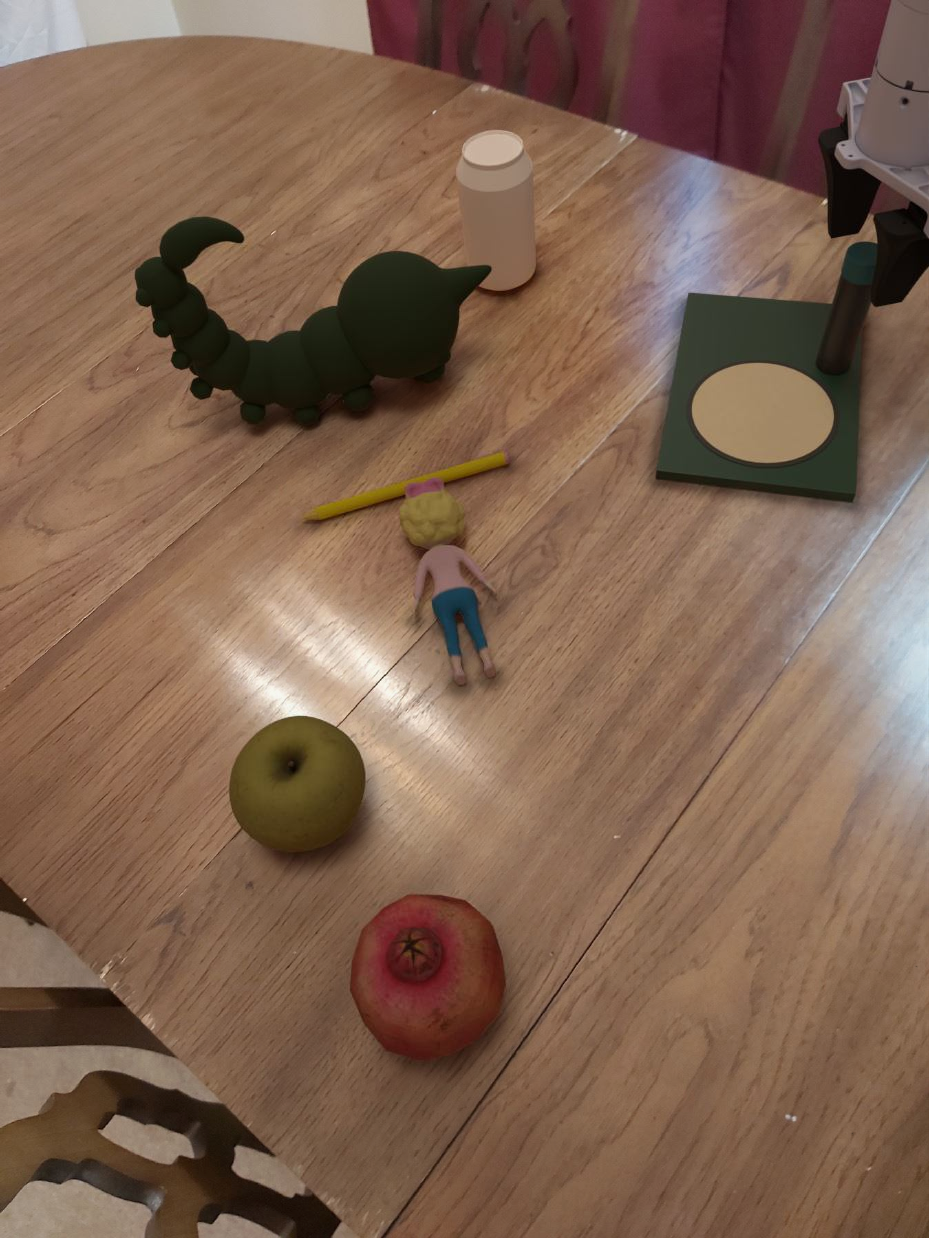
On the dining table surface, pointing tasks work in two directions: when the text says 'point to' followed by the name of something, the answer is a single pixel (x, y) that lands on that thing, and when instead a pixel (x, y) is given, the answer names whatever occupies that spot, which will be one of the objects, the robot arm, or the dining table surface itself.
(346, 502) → the pencil
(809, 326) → the kitchen scale
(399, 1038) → the fruit
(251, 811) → the apple
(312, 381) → the toy caterpillar
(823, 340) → the pill bottle
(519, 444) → the dining table surface
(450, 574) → the figurine
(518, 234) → the beverage can
